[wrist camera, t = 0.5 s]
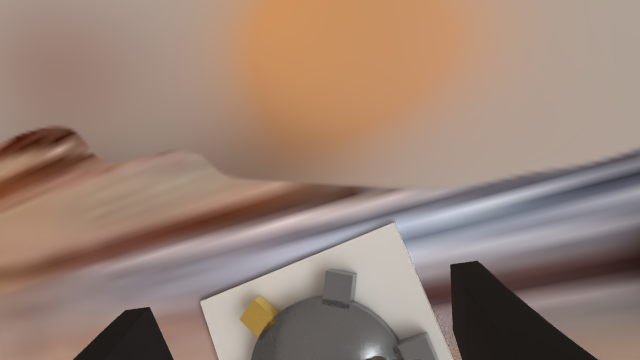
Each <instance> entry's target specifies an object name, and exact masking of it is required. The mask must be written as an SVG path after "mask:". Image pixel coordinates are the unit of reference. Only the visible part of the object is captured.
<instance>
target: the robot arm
mask: <svg viewBox="0 0 640 360" xmlns="http://www.w3.org/2000/svg"><path fill="white" fill-rule="evenodd" d="M450 269H451V294H452V319H453V332H454V335H455V338H456V341H457V345H458V348H459V351H460V354H461V357H462V360H598V359H596V358H595V357H594V356H592V355H591V354H590V353H588V352H587V351H586V350H584V349H583V348H581V347H580V346H579V345H577V344H576V343H575V342H573V341H572V340H571V339H569V338H568V337H567V336H566V335H564V334H563V333H562V332H560V331H559V330H558V329H557V328H555V327H554V326H553V325H552V324H550V323H549V322H548V321H547V320H546V319H544V318H543V317H542V316H541V315H539V314H538V313H537V312H536V311H534V310H533V309H532V308H531V307H530V306H528V305H527V304H526V303H525V302H524V301H523V300H521V299H520V298H519V297H518V296H517V295H516V294H514V293H513V292H512V291H511V290H510V289H509V288H508V287H506V286H505V285H504V284H503V283H502V282H501V281H500V280H499V279H498V278H496V277H495V276H494V275H493V274H492V273H491V272H490V271H489V270H488V269H486V268H485V267H484V266H483V265H482V264H481V263H479V262H478V261H473V262H465V263H458V264H451V265H450ZM73 360H173V357H172V355H171V353H170V351H169V349H168V346H167V344H166V342H165V340H164V338H163V335H162V333H161V331H160V329H159V327H158V324H157V322H156V320H155V318H154V316H153V313H152V311H151V309H150V307H146V308H138V309H131V310H125V311H124V312H123V313H122V314H121V315H120V316H118V317H117V318H116V319H115V320H114V321H113V322H112V323H111V324H110V325H109V326H107V327H106V328H105V329H104V330H103V331H102V332H101V333H100V334H99V335H98V336H97V337H96V338H95V339H94V340H93V341H92V342H91V343H90V344H89V345H88V346H87V347H86V348H85V349H84V350H83V351H82V352H81V353H80V354H78V355H77V356H76V357H75V358H74V359H73Z"/></svg>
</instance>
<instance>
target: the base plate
mask: <svg viewBox="0 0 640 360" xmlns="http://www.w3.org/2000/svg"><path fill="white" fill-rule="evenodd" d="M331 268H332V269H338V270H343V271H349V272H354V273H357V280H356V288H355V296H354V301H356V302H358V303H360V304H362V305H364V306H366V307H367V308H369V309H371V310H372V311H373V312H375V313H376V314H377V315H379V316H380V317H381V318H382V319H383V320H384V321H385V322H386V323H387V324H388V325H389V326H390V327H391V329H392V330H393V331H394V332H395V334H396V335H397V337H398V338H399V340H402V339H405V338H408V337H411V336H414V335H418V334H421V333H424V332H428V335H429V337H430V340H431V342H432V344H433V347H434V349H435V351H436V354H437V356H438V359H439V360H454V359H453V357H452V354H451V352H450V350H449V347H448V345H447V343H446V340H445V338H444V336H443V333H442V331H441V328H440V326H439V324H438V321H437V319H436V317H435V314H434V312H433V310H432V307H431V305H430V303H429V300H428V298H427V296H426V293H425V291H424V289H423V286H422V284H421V282H420V279H419V277H418V275H417V272H416V270H415V268H414V265H413V263H412V261H411V258H410V256H409V254H408V251H407V249H406V247H405V244H404V242H403V240H402V237H401V235H400V233H399V230H398V228H397V226H396V223H395V222H394V223H391V224H389V225H386V226H384V227H381V228H379V229H377V230H374V231H372V232H369V233H367V234H364V235H362V236H359V237H357V238H354V239H352V240H350V241H347V242H345V243H342V244H340V245H337V246H335V247H332V248H330V249H328V250H325V251H323V252H320V253H318V254H315V255H313V256H310V257H308V258H306V259H303V260H301V261H298V262H296V263H293V264H291V265H288V266H286V267H284V268H281V269H279V270H276V271H274V272H271V273H269V274H266V275H264V276H262V277H259V278H257V279H254V280H252V281H249V282H247V283H244V284H242V285H239V286H237V287H235V288H232V289H230V290H227V291H225V292H222V293H220V294H217V295H215V296H213V297H210V298H208V299H205V300H203V301H200V303H201V306H202V310H203V313H204V316H205V319H206V322H207V325H208V328H209V331H210V334H211V337H212V340H213V343H214V346H215V350H216V353H217V356H218V359H219V360H251V357H252V353H253V350H254V347H255V344H256V342H257V339H258V337H257V336H256V335H255V334H254V333H253V332H251V331H250V330H249V329H248V328H247V327H246V326H245V325H244V324H243V323H242V322H241V321H240V320H239V319H240V318H241V316H242V315H243V313H244V312H245V311H246V309H247V308H248V307H249V305H250V304H251V302H252V301H253V300H254V299H255V298H257V297H260V296H262V297H263V298H264V299H266V300H267V301H268V302H269V303H270V304H271V305H272V306H273V307H274V308H275V309H276V310H277V311H278V312H280V311H282V310H284V309H285V308H287V307H288V306H290V305H292V304H294V303H296V302H298V301H300V300H302V299H306V298H309V297H314V296H321V295H323V290H324V281H325V273H326V270H328V269H331Z"/></svg>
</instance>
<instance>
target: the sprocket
mask: <svg viewBox="0 0 640 360" xmlns="http://www.w3.org/2000/svg"><path fill="white" fill-rule="evenodd" d="M356 280H357V273H354V272H349V271H343V270H338V269H332V268H331V269H328V270H326V273H325V281H324V290H323V295H321V296H314V297H309V298H306V299H302V300H300V301H298V302H296V303H294V304H292V305H290V306H288V307H287V308H285V309H284V310H282V311H280V312H278V311H277V310H276V309H275V308H274V307H273V306H272V305H271V304H270V303H269V302H268V301H267V300H266V299H264V298H263V297H262V296H260V297H257V298H255V299H254V300H253V301H252V302H251V304H250V305H249V307H248V308H247V309H246V311H245V312H244V313H243V315H242V316H241V318H240V319H239V320H240V321H241V322H242V323H243V324H244V325H245V326H246V327H247V328H248V329H249V330H250V331H251V332H253V333H254V334H255V335H256V336H257V337H258V339H257V342H256V344H255V347H254V350H253V353H252V357H251V360H439V359H438V356H437V354H436V351H435V349H434V347H433V344H432V342H431V340H430V337H429V335H428V332H424V333H421V334H418V335H414V336H411V337H408V338H405V339H402V340H399V338H398V337H397V335H396V334H395V332H394V331H393V330H392V329H391V327H390V326H389V325H388V324H387V323H386V322H385V321H384V320H383V319H382V318H381V317H380V316H379V315H377V314H376V313H375V312H373V311H372V310H371V309H369V308H367V307H366V306H364V305H362V304H360V303H358V302H356V301H354V296H355V288H356Z"/></svg>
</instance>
